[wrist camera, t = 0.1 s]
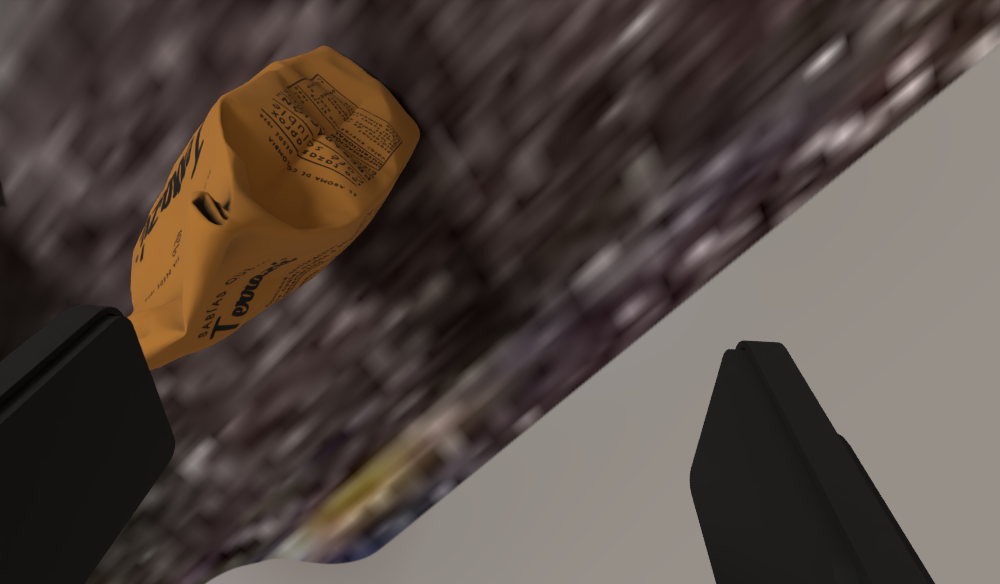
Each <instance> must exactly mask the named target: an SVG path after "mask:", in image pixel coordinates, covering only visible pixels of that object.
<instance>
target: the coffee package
mask: <svg viewBox="0 0 1000 584" xmlns="http://www.w3.org/2000/svg"><path fill="white" fill-rule="evenodd" d="M419 138H420V131H419V128H418V126H417V124H416V123H415V121H414V120H413V119H412V118H411V117H410V116H409V115H408V114H407V113H406V112H405V110H404V109H403V108H402V106H401V105H400V104H399V102H398V101H397V100H396V99H395V98H394V96H393V95H392V94H391V93H390V92H389V90H388V89H387V88H386V87H385V86H384V85H382V84H381V83H380V82H379V81H378V80H376V79H375V78H373V77H371V76H370V75H368V74H367V73H366V72H365V71H364V70H363V69H362V68H361V67H359V66H358V65H357V64H355V63H354V62H352V61H351V60H350V59H348V58H346V57H344V56H343V55H341V54H339V53H338V52H337V51H335V50H334V49H332V48H330V47H328V46H321V47H319V48H317V49H315V50H313V51H310V52H309V53H305V54H301V55H299V56H296V57H292V58H288V59H284V60H281V61H276V62H273V63H272V64H270V65H268V66H267V67H266V68H265V69H263V70H262V71H261V72H259V73H258V74H257V75H256V76H254V77H253V78H252V79H251V80H250V81H248V82H247V83H245V84H243V85H242V86H240V87H238V88H236V89H234V90H232V91H230V92H228V93H226V94H224V95H222V96H221V97H220V98H219V100H218V101H217V102H216V104H215V105H214V106H213V107H212V109H211V110H210V112H209V113H208V115H207V117H206V118H205V120H204V121H203V123H202V124H201V126H200V127H199V128H198V130H197V131H196V132H195V134H194V135H193V137H192V139H191V140H190V142H189V143H188V145H187V147H186V148H185V150H184V151H183V153H182V154H181V156H180V157H179V159H178V160H177V162H176V163H175V165H174V167H173V170H172V172H171V174H170V176H169V178H168V181H167V183H166V185H165V187H164V189H163V191H162V193H161V194H160V196H159V197H158V199H157V200H156V202H155V204H154V206H153V207H152V209H151V211H150V214H149V216H148V219H147V222H146V225H145V227H144V229H143V231H142V233H141V235H140V237H139V240H138V242H137V244H136V246H135V249H134V252H133V259H132V271H131V293H132V302H133V306H134V311H133V313H132V314H131V316H129V317H127V318H128V319H129V320H131V322H132V324H133V326H134V329H135V331H136V334H137V337H138V340H139V342H140V345H141V348H142V351H143V353H144V356H145V359H146V362H147V364H148V367H149V370H152V369H155V368H160V367H162V366H163V365H165V364H167V363H169V362H171V361H173V360H175V359H178V358H180V357H182V356H184V355H187V354H190V353H194V352H197V351H199V350H202V349H204V348H206V347H209V346H211V345H213V344H215V343H217V342H218V341H220V340H222V339H224V338H226V337H227V336H229V335H230V334H232V333H233V332H235V331H237V330H238V329H239V328H240V327H241V326H242V325H243V324H244V323H245V322H247V321H249V320H251V319H252V318H253V317H254V316H256V315H257V314H259V313H260V312H262V311H263V310H265V309H266V308H268V307H269V306H271V305H273V304H274V303H276V302H277V301H279V300H281V299H283V298H284V297H286V296H287V295H288V294H290V293H291V292H293V291H294V290H296V289H298V288H299V287H301V286H302V285H303V284H305V283H306V282H308V281H309V280H311V279H312V278H313V277H314V276H316V275H317V274H318V273H319V272H320V271H321V270H323V269H324V268H325V267H326V266H327V265H328V264H329V263H330V262H331V261H332V260H333V259H334V258H335V257H336V256H337V255H339V254H340V253H341V252H342V251H343V250H345V249H346V248H347V247H348V246H349V245H350V244H351V243H352V242H353V241H354V240H355V239H356V238H357V237H358V236H359V234H360V233H361V232H362V231H363V230H364V229H365V228H366V226H367V225H368V224H369V223H370V222H371V220H372V219H373V218H374V216H375V215H376V213H377V212H378V210H379V209H380V207H381V206H382V204H383V203H384V201H385V200H386V198H387V196H388V195H389V193H390V191H391V190H392V188H393V186H394V184H395V182H396V180H397V179H398V177H399V176H400V174H401V172H402V171H403V169H404V168H405V166H406V164H407V162H408V161H409V159H410V157H411V155H412V154H413V151H414V149H415V147H416V145H417V143H418V141H419Z"/></svg>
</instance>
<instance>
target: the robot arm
mask: <svg viewBox="0 0 1000 584" xmlns="http://www.w3.org/2000/svg"><path fill="white" fill-rule="evenodd" d="M174 448H175V439H174V436H173V433H172V430H171V427H170V425H169V422H168V419H167V416H166V414H165V411H164V408H163V405H162V403H161V400H160V397H159V394H158V392H157V389H156V386H155V383H154V381H153V378H152V375H151V373H150V370H149V367H148V364H147V362H146V359H145V356H144V353H143V351H142V348H141V345H140V342H139V340H138V337H137V334H136V331H135V329H134V326H133V324H132V322H131V320H129V319H128V318H127V317H124V316H123V314H122V313H121V312H120V311H119V310H118V309H117V308H114V307H107V306H88V305H75V306H71V307H69V308H67V309H66V310H64V311H63V312H62V313H61V314H59V315H58V316H57V317H56V318H54V319H53V320H52V321H51V322H49V323H48V324H47V325H46V326H44V327H43V328H42V329H40V330H39V331H38V332H37V333H35V334H34V335H33V336H32V337H30V338H29V339H28V340H27V341H25V342H24V343H23V344H22V345H20V346H19V347H18V348H17V349H15V350H14V351H13V352H11V353H10V354H9V355H8V356H6V357H5V358H4V359H3V360H1V361H0V584H84V583H85V582H86V581H87V579H88V578H89V576H90V575H91V573H92V572H93V571H94V569H95V568H96V566H97V565H98V563H99V562H100V561H101V559H102V558H103V556H104V555H105V553H106V552H107V551H108V549H109V548H110V546H111V545H112V543H113V542H114V541H115V539H116V538H117V536H118V535H119V533H120V532H121V531H122V529H123V528H124V526H125V525H126V523H127V522H128V521H129V519H130V518H131V516H132V515H133V513H134V512H135V511H136V509H137V508H138V506H139V505H140V503H141V502H142V500H143V499H144V498H145V496H146V495H147V493H148V492H149V490H150V489H151V488H152V486H153V485H154V483H155V482H156V480H157V479H158V478H159V476H160V475H161V473H162V472H163V470H164V469H165V468H166V466H167V465H168V463H169V462H170V460H171V458H172V456H173V453H174ZM690 489H691V494H692V497H693V501H694V505H695V509H696V512H697V516H698V519H699V523H700V527H701V530H702V534H703V537H704V541H705V545H706V548H707V552H708V555H709V559H710V563H711V566H712V569H713V573H714V577H715V581H716V584H935V583H934V581H933V580H932V578H931V576H930V575H929V573H928V572H927V570H926V568H925V567H924V565H923V563H922V562H921V560H920V558H919V557H918V555H917V554H916V552H915V550H914V549H913V547H912V545H911V544H910V542H909V541H908V539H907V537H906V536H905V534H904V533H903V531H902V529H901V527H900V526H899V524H898V523H897V521H896V520H895V518H894V516H893V515H892V513H891V511H890V510H889V508H888V506H887V505H886V503H885V501H884V500H883V498H882V497H881V495H880V494H879V492H878V490H877V489H876V487H875V485H874V484H873V482H872V480H871V479H870V477H869V476H868V474H867V472H866V471H865V469H864V467H863V466H862V464H861V463H860V461H859V459H858V458H857V456H856V454H855V453H854V451H853V449H852V448H851V446H850V445H849V444H848V442H847V441H846V440H845V439H844V438H843V437H842V436H841V435H839V434H837V432H836V430H835V429H834V427H833V426H832V424H831V422H830V421H829V419H828V417H827V416H826V414H825V412H824V411H823V409H822V407H821V406H820V404H819V402H818V401H817V399H816V397H815V396H814V394H813V392H812V391H811V389H810V388H809V386H808V384H807V383H806V381H805V379H804V378H803V376H802V374H801V373H800V371H799V369H798V368H797V366H796V364H795V363H794V361H793V359H792V358H791V356H790V354H789V353H788V351H787V349H786V348H785V347H784V345H783V344H781V343H778V342H761V341H760V342H759V341H741V342H739V343H738V345H737V346H736V349H735V350H734V349H728V350H726V352H725V353H724V355H723V358H722V362H721V365H720V369H719V372H718V376H717V379H716V383H715V386H714V390H713V393H712V397H711V400H710V404H709V407H708V411H707V415H706V418H705V421H704V425H703V428H702V432H701V436H700V439H699V443H698V446H697V449H696V453H695V457H694V460H693V464H692V467H691V471H690Z"/></svg>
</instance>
